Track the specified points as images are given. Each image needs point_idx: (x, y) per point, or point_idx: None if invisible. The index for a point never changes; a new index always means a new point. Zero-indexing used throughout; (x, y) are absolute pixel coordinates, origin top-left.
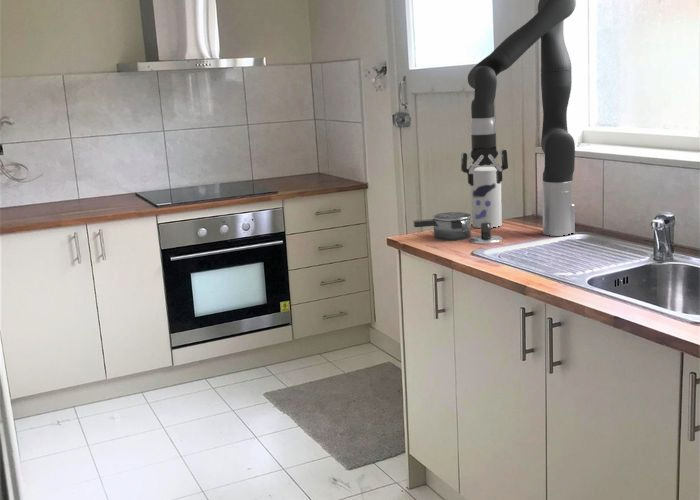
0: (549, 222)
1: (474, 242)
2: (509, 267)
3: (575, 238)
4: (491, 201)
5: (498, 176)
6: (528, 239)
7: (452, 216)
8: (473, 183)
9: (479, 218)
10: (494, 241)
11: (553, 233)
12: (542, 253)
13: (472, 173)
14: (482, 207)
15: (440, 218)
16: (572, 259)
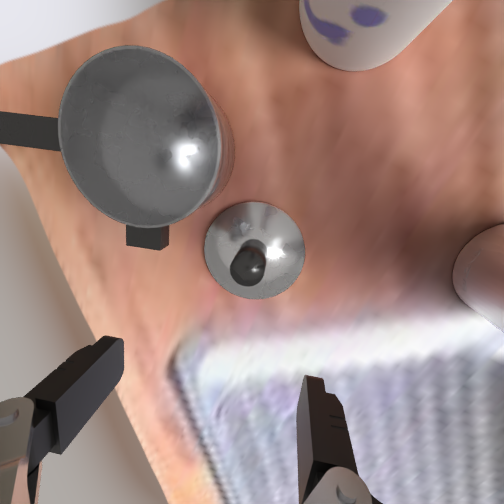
0: (484, 312)
1: (210, 270)
2: (207, 479)
3: (499, 348)
4: (395, 14)
5: (300, 465)
6: (371, 297)
7: (136, 164)
8: (113, 387)
9: (314, 28)
10: (261, 296)
11: (467, 304)
12: None
13: None
14: (334, 13)
15: (83, 182)
16: None
